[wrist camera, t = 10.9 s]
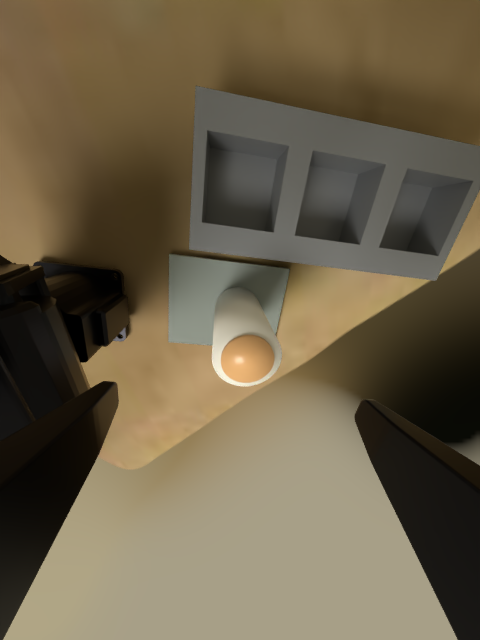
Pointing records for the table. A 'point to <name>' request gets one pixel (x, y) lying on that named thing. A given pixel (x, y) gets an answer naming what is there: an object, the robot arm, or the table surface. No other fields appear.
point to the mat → (217, 293)
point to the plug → (243, 339)
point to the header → (325, 188)
